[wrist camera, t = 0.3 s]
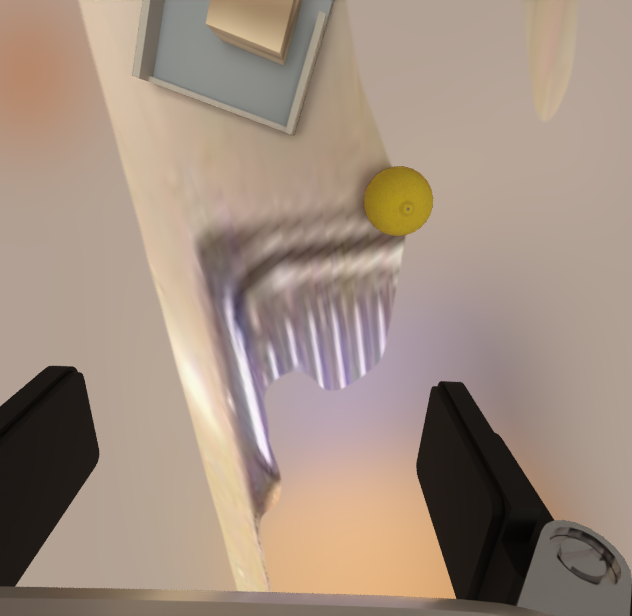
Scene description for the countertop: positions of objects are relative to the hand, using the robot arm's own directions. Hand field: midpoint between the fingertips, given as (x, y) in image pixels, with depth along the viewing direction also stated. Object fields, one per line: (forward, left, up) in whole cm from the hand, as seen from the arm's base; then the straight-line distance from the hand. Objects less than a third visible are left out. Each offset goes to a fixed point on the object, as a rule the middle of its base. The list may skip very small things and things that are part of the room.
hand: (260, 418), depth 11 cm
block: (-14, -7, -27) cm, 31 cm away
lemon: (-5, +7, -29) cm, 31 cm away
